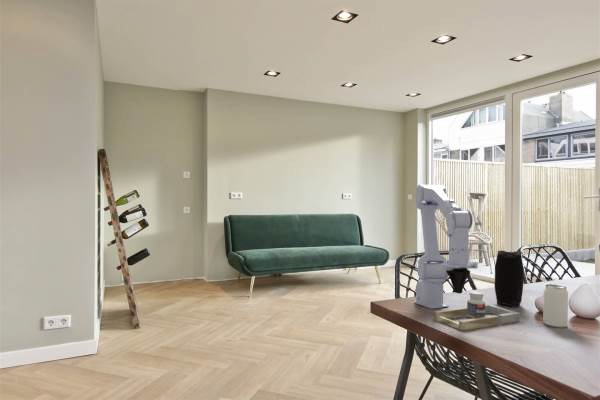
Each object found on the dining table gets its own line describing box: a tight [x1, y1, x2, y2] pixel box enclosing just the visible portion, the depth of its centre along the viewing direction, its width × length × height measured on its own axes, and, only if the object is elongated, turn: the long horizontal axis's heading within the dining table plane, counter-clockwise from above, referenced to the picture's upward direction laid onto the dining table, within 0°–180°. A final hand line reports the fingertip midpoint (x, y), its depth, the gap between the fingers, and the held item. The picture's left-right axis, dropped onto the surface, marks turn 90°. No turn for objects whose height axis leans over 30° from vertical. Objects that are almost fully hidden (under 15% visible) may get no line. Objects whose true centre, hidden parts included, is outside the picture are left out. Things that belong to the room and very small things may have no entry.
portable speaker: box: [494, 250, 524, 309], centre depth 150 cm, size 9×9×20 cm
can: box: [542, 284, 569, 329], centre depth 127 cm, size 6×6×12 cm
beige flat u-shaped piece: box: [433, 306, 500, 331], centre depth 129 cm, size 12×15×2 cm
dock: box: [485, 303, 520, 325], centre depth 134 cm, size 12×8×2 cm, turn 25°
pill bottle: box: [466, 290, 486, 320], centre depth 130 cm, size 5×5×9 cm
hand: (457, 292), depth 127 cm, fingers closed
